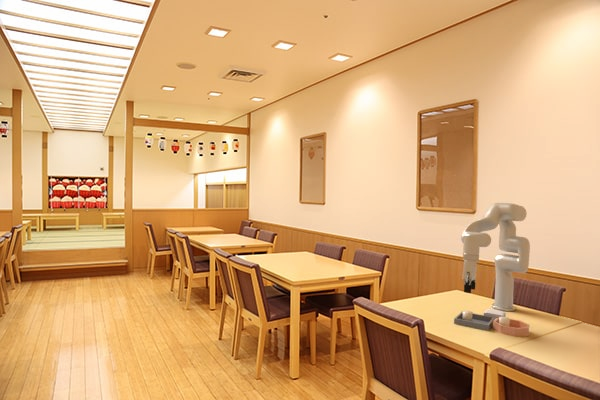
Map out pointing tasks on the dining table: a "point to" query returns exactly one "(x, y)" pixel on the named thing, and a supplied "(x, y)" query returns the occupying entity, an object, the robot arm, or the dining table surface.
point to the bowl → (512, 328)
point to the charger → (494, 313)
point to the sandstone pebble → (467, 315)
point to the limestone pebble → (504, 321)
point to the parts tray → (475, 321)
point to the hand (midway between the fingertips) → (469, 290)
